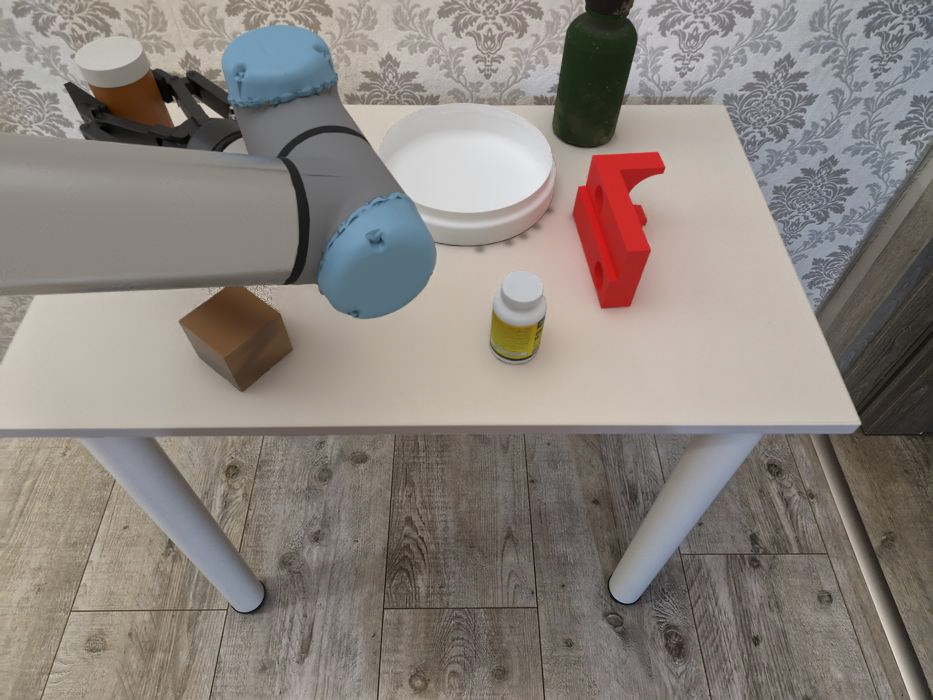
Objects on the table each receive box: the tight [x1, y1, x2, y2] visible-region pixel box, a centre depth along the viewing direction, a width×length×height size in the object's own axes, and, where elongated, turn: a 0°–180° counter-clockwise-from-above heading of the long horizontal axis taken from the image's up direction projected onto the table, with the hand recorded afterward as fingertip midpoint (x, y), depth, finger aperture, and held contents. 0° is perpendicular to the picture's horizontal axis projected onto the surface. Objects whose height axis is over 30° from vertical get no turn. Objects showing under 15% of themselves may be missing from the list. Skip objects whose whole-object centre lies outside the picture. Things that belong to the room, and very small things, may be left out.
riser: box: [177, 286, 294, 393], centre depth 72 cm, size 8×8×7 cm
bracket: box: [572, 151, 667, 309], centre depth 81 cm, size 18×10×10 cm
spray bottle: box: [551, 0, 639, 147], centre depth 92 cm, size 10×10×25 cm
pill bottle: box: [489, 270, 548, 365], centre depth 72 cm, size 6×6×11 cm
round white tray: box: [376, 102, 557, 247], centre depth 92 cm, size 27×27×6 cm
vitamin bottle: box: [74, 35, 176, 128], centre depth 64 cm, size 6×6×11 cm
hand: (102, 81), depth 65 cm, fingers closed on vitamin bottle, 6 cm apart
